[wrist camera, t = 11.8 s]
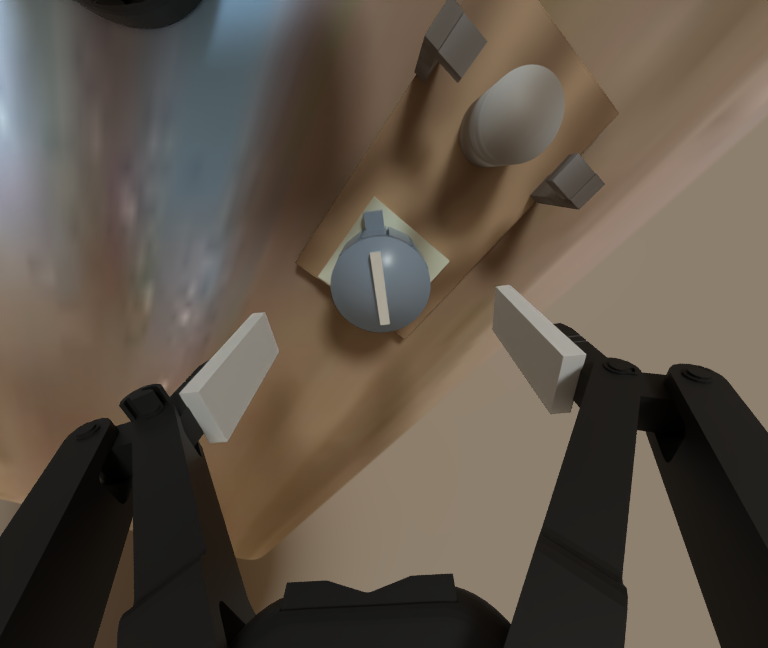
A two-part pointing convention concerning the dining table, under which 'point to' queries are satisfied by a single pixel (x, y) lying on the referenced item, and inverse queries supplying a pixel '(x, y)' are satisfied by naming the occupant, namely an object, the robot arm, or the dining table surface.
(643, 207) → the dining table surface
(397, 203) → the base
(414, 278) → the cap
